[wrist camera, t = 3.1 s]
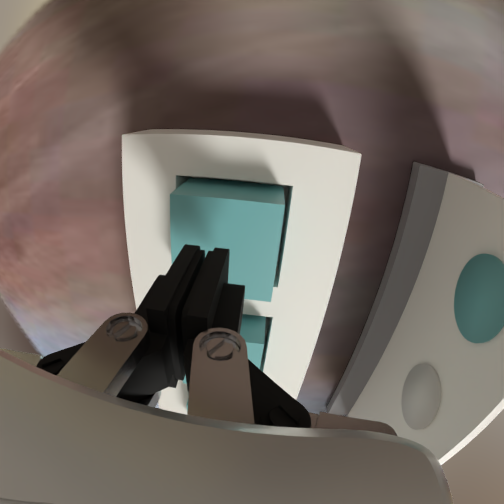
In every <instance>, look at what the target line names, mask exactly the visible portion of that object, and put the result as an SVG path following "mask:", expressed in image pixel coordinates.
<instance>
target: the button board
mask: <svg viewBox="0 0 504 504" xmlns="http://www.w3.org/2000/svg"><path fill="white" fill-rule="evenodd" d="M361 155H362V154H360V153H358V152H356V151H354V150H352V149H350V148H348V147H346V146H343V145H338V144H332V143H326V142H320V141H314V140H307V139H300V138H293V137H285V136H277V135H268V134H258V133H247V132H234V131H218V130H194V129H150V130H144V131H138V132H133V133H128V134H123V135H122V178H123V199H124V214H125V226H126V237H127V247H128V255H129V264H130V271H131V278H132V285H133V292H134V298H135V304H136V309H137V308H138V307H139V305H140V304H141V302H142V300H143V299H144V297H145V296H146V294H147V292H148V291H149V289H150V288H151V286H152V284H153V283H154V281H155V280H156V278H157V277H158V276H159V275H166V273H167V272H168V270H169V269H170V267H171V265H172V260H171V235H170V194H171V193H172V192H173V191H174V190H175V189H177V188H178V187H179V186H181V185H182V184H183V183H184V182H186V181H187V180H188V179H189V178H206V179H218V180H230V181H241V182H251V183H260V184H269V185H278V186H283V190H284V200H285V209H284V217H283V224H282V231H281V238H280V245H279V252H278V259H277V266H276V272H275V279H274V285H273V292H272V298H271V302H266V301H257V300H249V299H244V307H243V314H248V315H256V316H265V317H266V322H265V338H264V348H263V353H262V359H261V365H260V370H261V371H262V372H263V373H265V374H266V375H267V376H268V377H269V378H270V379H272V380H273V381H274V382H275V383H276V384H277V385H279V386H280V387H281V388H282V389H283V390H284V391H286V392H287V393H288V394H289V395H290V396H292V397H293V398H294V399H295V400H296V399H297V396H298V394H299V391H300V388H301V385H302V383H303V380H304V377H305V374H306V371H307V368H308V366H309V363H310V360H311V357H312V354H313V351H314V348H315V344H316V341H317V338H318V335H319V332H320V329H321V325H322V322H323V319H324V315H325V312H326V309H327V305H328V302H329V298H330V295H331V291H332V287H333V284H334V280H335V276H336V273H337V269H338V265H339V261H340V257H341V253H342V249H343V244H344V240H345V236H346V232H347V227H348V223H349V218H350V213H351V209H352V204H353V199H354V194H355V189H356V183H357V178H358V172H359V167H360V161H361ZM188 397H189V392H188V390H187V384H184V383H183V381H182V380H178V383H177V386H176V388H172V387H167V388H165V389H163V390H161V396H160V399H159V401H158V404H159V407H160V409H163V410H167V411H172V412H177V413H181V414H186V415H187V407H186V405H187V401H188Z"/></svg>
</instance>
